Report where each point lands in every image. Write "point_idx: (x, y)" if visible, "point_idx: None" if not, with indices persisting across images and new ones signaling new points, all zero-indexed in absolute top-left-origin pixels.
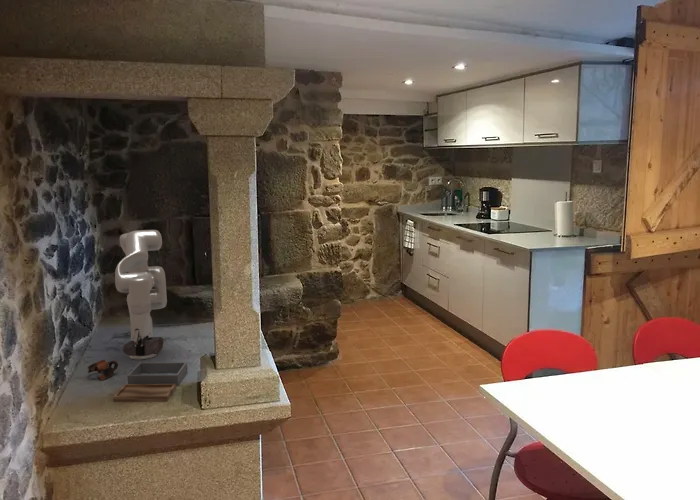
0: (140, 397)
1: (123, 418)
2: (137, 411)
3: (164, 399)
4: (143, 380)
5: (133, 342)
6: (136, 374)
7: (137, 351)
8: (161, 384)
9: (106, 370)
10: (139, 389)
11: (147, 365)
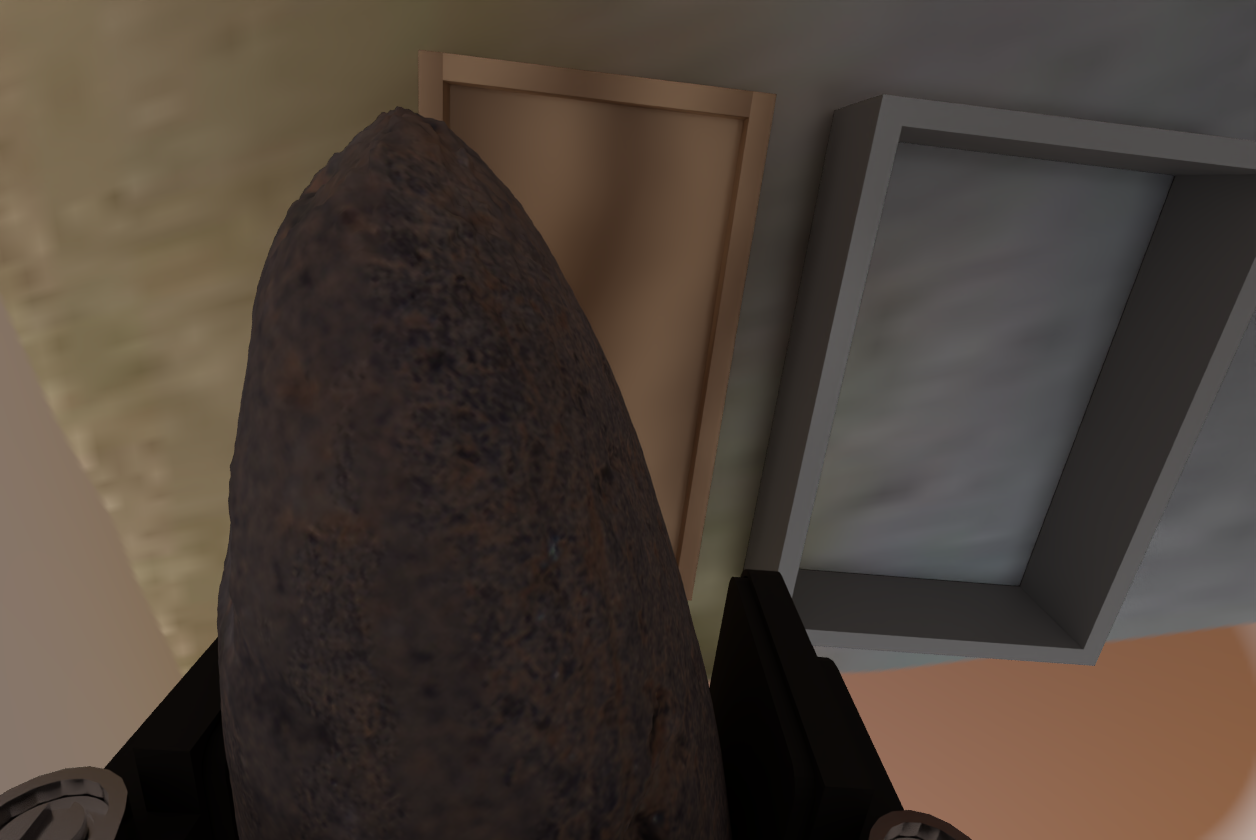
0: None
1: (79, 274)
2: (231, 363)
3: None
4: (818, 296)
5: (243, 736)
6: (1061, 156)
7: (196, 671)
8: (695, 486)
9: None
10: (659, 283)
11: (1223, 258)
